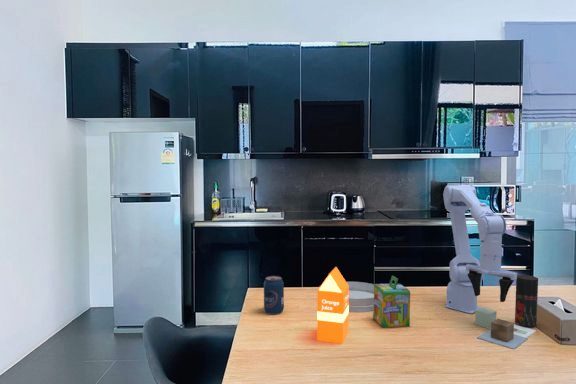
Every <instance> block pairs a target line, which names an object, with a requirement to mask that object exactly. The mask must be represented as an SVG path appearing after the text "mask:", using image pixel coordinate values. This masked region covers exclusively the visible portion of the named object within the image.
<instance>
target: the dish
mask: <svg viewBox="0 0 576 384" xmlns="http://www.w3.org/2000/svg"><path fill="white" fill-rule="evenodd" d="M346 282H347V284H348V285H349V313H370V312H373V308H374V283H370V282H369V283H368V282H363V281H362V282H361V281H346Z"/></svg>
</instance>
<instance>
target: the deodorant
mask: <svg viewBox="0 0 576 384" xmlns="http://www.w3.org/2000/svg"><path fill="white" fill-rule="evenodd" d="M538 293H539V277H537V276H533V275H527V274H517V279H516V280H515V301H514V302H515V304H514V305H515V307H514V308H515V309H514V325H517V326H521V327H525V328H529V329H533V328H536V327H537V324H536V322H537V321H538V295H539V294H538ZM537 323H538V322H537Z"/></svg>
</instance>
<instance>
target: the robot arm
mask: <svg viewBox="0 0 576 384" xmlns="http://www.w3.org/2000/svg"><path fill="white" fill-rule="evenodd" d="M442 196H443V203H444V207H445V210H447V211H448V212H449V217H450V221H451V229H452V234H453V242H454V247H455V255H456V256H455V257H453V258H452V260H450V262H449V265H448V266H449V278H450V279H449V280H450V281H449V282H448V284H447V287H446V305H445V308H448V309H452V310H455V311H459V312H463V313H467V314H469V315H470V314H471V315H472V314H473V313H475V311H476V310H478V309H480V308H482V307H481V306H478V296H480V295H481V282H482V281H483V279H484V275H488V276H492V277H498V278H500V279H499V280H498V283H499V290H500V291H499V294H500V295H499V301H500V303H504V302H506V299H507V295H508V293H509V290H510V288H511V287H512V285H513V283H514V281H516V279H517V275H518V272H514V271H510V270H507V269H502V247H503V246H502V242H503V235H504V234H505V233H506V231H507V222H506V218H505V217H504V216H503V215H500V214H495V213H494V212H493V211H492V209H491V208H490V207H489V206H488V204H487V203H486V202H481V201H480V200H479V198H478V197H477V189H476V187H475V185H474V184H469V185H468V184H467V185H466V184H465V185H462V184H461V185H458V184H457V185H456V184H455V185H454V184H453V185H450V184H447V185H446V186H445V187H444V190H443V194H442ZM468 210H470V211H469V212H470V213H469V214H470V216H471V217H472V218H473V219H474V221H475V222H476V223H477V230H478V238H479V239H480V260H479V259H478V258H476V257H475V256H473V255H472V252H471V244H470V239H469V232H468V226H467V221H466V219H467V218H466V215H465V212H467V211H468Z"/></svg>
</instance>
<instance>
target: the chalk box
mask: <svg viewBox="0 0 576 384" xmlns="http://www.w3.org/2000/svg"><path fill="white" fill-rule="evenodd" d="M398 280H399V278H397V277H396V276H394V275H391V277H390V280H389V283H375V284H374V283H373V284H374V308H373V311H372V317H373V318H374V320H375V321H376V322H377V323H378V324H379V325H380V326H381V327H382V329H383V328H396V327H397V328H399V327H400V328H401V327H403V328H404V327H410V324H411V323H410V322H411V321H410V320H411V318H410V317H411V316H410V314H411V291H410V290H409V289H408V287H405V286H404V285H403V284H401V283H398ZM393 281H394V283H393Z"/></svg>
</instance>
